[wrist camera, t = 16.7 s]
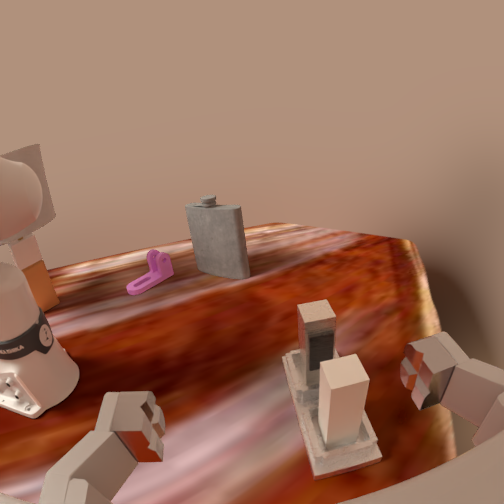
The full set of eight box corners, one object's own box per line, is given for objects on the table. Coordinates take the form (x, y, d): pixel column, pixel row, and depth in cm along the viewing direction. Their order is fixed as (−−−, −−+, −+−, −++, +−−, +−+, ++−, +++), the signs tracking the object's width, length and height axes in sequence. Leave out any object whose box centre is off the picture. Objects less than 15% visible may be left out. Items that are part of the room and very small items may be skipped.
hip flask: (252, 274, 79) (242, 194, 71) (243, 282, 76) (231, 199, 68) (202, 264, 87) (189, 193, 79) (193, 271, 84) (178, 197, 76)
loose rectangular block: (325, 449, 33) (331, 389, 28) (316, 421, 37) (318, 358, 32) (356, 440, 33) (369, 379, 28) (345, 414, 37) (354, 350, 32)
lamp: (65, 278, 89) (28, 150, 72) (95, 298, 76) (50, 138, 59) (7, 311, 73) (-40, 176, 56) (24, 341, 60) (-39, 171, 42)
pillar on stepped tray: (314, 480, 30) (318, 422, 24) (282, 363, 50) (275, 293, 44) (380, 461, 31) (404, 397, 25) (331, 352, 51) (333, 283, 45)
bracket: (162, 270, 87) (156, 247, 84) (174, 274, 84) (168, 250, 81) (124, 291, 78) (116, 267, 75) (135, 297, 75) (127, 272, 72)
